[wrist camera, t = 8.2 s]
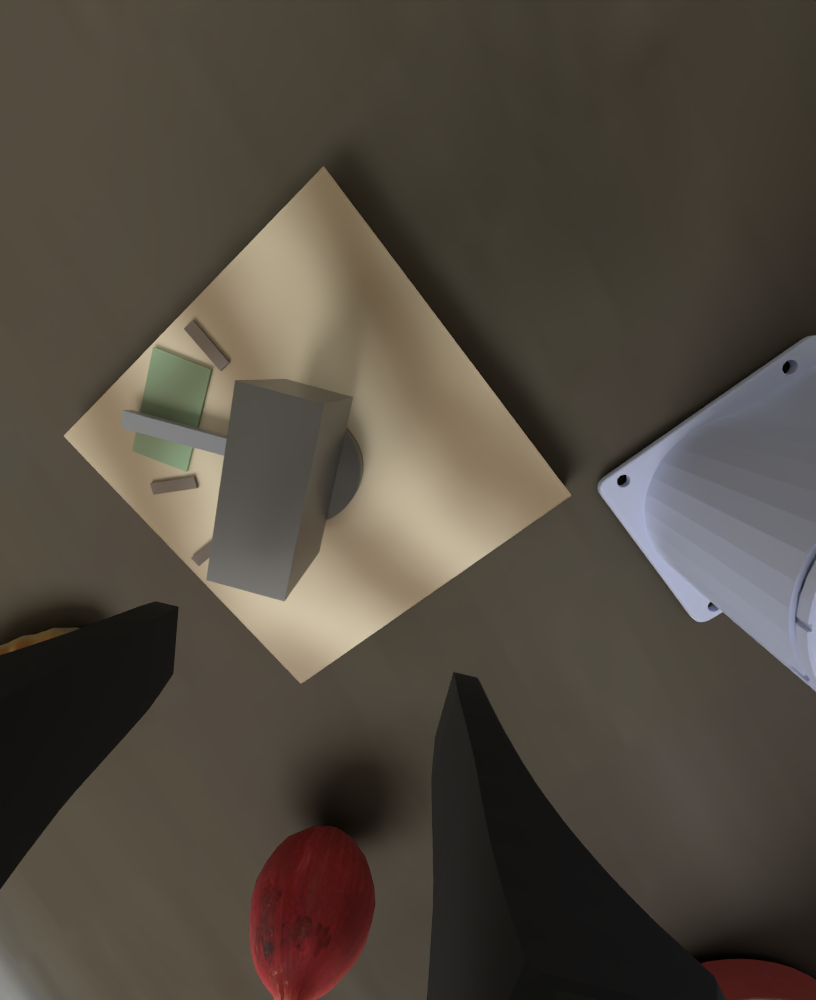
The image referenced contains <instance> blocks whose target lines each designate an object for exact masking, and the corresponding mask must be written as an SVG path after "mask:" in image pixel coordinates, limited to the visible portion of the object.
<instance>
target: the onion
mask: <svg viewBox="0 0 816 1000" xmlns="http://www.w3.org/2000/svg"><path fill="white" fill-rule="evenodd" d="M374 908H375V892H374V884H373V880H372V876H371V873H370V869H369V866H368V863H367V860H366V857H365V855H364V854H363V852H362V851H361V850H360V848H359V847H358V845H357V844H356V842H355V841H354V840H353V838H352V837H351V836H349V835H348V834H346V833H345V832H344V831H342V830H341V829H339V828H337V827H334V826H313V827H310V828H308V829H305V830H303V831H300V832H298V833H296V834H293V835H291V836H289V837H288V838H286V839H285V840H284V841H283V842H282V843H281V844H280V845H279V846H278V847H277V848H276V850H275V851H274V852H273V854H272V855H271V856H270V858H269V859H268V860H267V862H266V864H265V865H264V867H263V869H262V871H261V872H260V874H259V876H258V878H257V881H256V884H255V888H254V891H253V894H252V899H251V912H250V927H249V932H250V947H251V952H252V958H253V961H254V965H255V968H256V971H257V973H258V975H259V976H260V978H261V980H262V981H263V983H264V985H265V986H266V988H267V989H268V990H269V992H270V993H271V994H272V995H273V996H274V1000H315V999H317V998H319V997H321V996H323V995H325V994H326V993H327V992H328V991H330V990H331V989H332V988H333V987H334V986H335V985H336V984H337V983H338V982H339V981H340V980H341V979H342V978H343V977H344V976H345V975H346V974H347V973H348V971H349V970H350V969H351V968H352V967H353V965H354V964H355V962H356V961H357V960H358V958H359V957H360V954H361V952H362V950H363V948H364V945H365V943H366V940H367V937H368V933H369V930H370V926H371V923H372V918H373V913H374Z"/></svg>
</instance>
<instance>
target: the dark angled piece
mask: <svg viewBox="0 0 816 1000" xmlns="http://www.w3.org/2000/svg"><path fill="white" fill-rule="evenodd" d="M352 400H353V397H351V396H347V395H344V394H340V393H336V392H332V391H329V390H325V389H321V388H318V387H314V386H310V385H306V384H303V383H299V382H295V381H292V380H288V379H261V380H235V384H234V391H233V398H232V405H231V412H230V419H229V426H228V433H227V435H223V434H219V433H215V432H212V431H208V430H204V429H201V428H197V427H193V426H190V425H186V424H182V423H178V422H175V421H171V420H167V419H164V418H160V417H156V416H153V415H149V414H145V413H141V412H138V411H134V410H123V411H122V421H121V428H123V429H127V430H131V431H134V432H138V433H142V434H145V435H149V436H153V437H157V438H160V439H164V440H168V441H171V442H175V443H179V444H182V445H186V446H190V447H193V448H197V449H201V450H205V451H208V452H212V453H216V454H219V455H223V456H224V461H223V467H222V474H221V481H220V488H219V495H218V502H217V509H216V516H215V523H214V530H213V537H212V544H211V551H210V558H209V564H208V571H207V578H206V580H207V581H211V582H215V583H218V584H222V585H226V586H229V587H233V588H237V589H240V590H244V591H248V592H251V593H255V594H259V595H262V596H266V597H270V598H273V599H277V600H281V601H285V600H286V599H287V597H288V596H289V594H290V593H291V592H292V590H293V589H294V587H295V586H296V584H297V583H298V582H299V580H300V579H301V577H302V576H303V575H304V573H305V572H306V570H307V569H308V568H309V566H310V565H311V563H312V562H313V560H314V559H315V558H316V556H317V555H318V553H319V551H320V547H321V542H322V538H323V533H324V529H325V524H326V520H328V519H330V518H332V517H334V516H336V515H337V514H339V513H340V512H341V511H342V510H344V509H345V507H346V506H347V505H348V504H349V503H350V501H351V500H352V499H353V497H354V496H355V494H356V493H357V491H358V489H359V487H360V484H361V481H362V477H363V467H364V465H363V457H362V453H361V449H360V447H359V444H358V442H357V440H356V439H355V437H354V436H353V434H352V433H351V432H350V430H349V429H348V428H347V423H348V418H349V414H350V409H351V405H352Z"/></svg>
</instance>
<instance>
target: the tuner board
mask: <svg viewBox="0 0 816 1000" xmlns="http://www.w3.org/2000/svg"><path fill="white" fill-rule="evenodd" d="M261 379H288V380H292V381H295V382H299V383H303V384H306V385H310V386H314V387H318V388H321V389H325V390H329V391H332V392H336V393H340V394H344V395H347V396H351V397H353V400H352V405H351V409H350V414H349V418H348V423H347V428H348V429H349V430H350V432H351V433H352V434H353V436H354V437H355V439H356V440H357V442H358V444H359V447H360V449H361V453H362V457H363V465H364V467H363V477H362V481H361V484H360V487H359V489H358V491H357V493H356V494H355V496H354V497H353V499H352V500H351V501H350V503H349V504H348V505H347V506H346V507H345V509H344V510H342V511H341V512H340V513H339V514H337V515H336V516H334V517H332V518H330V519H328V520H326V524H325V529H324V533H323V538H322V542H321V547H320V551H319V553H318V555H317V556H316V558H315V559H314V560H313V562H312V563H311V565H310V566H309V568H308V569H307V570H306V572H305V573H304V575H303V576H302V577H301V579H300V580H299V582H298V583H297V584H296V586H295V587H294V589H293V590H292V592H291V593H290V594H289V596H288V597H287V599H286V600H285V601H281V600H277V599H273V598H270V597H266V596H262V595H259V594H255V593H251V592H248V591H244V590H240V589H237V588H233V587H229V586H226V585H222V584H218V583H215V582H211V581H207V580H206V578H207V571H208V564H209V558H210V551H211V544H212V537H213V530H214V523H215V516H216V509H217V502H218V495H219V488H220V481H221V474H222V467H223V461H224V456H223V455H219V454H216V453H212V452H208V451H205V450H201V449H197V448H193V447H190V446H186V445H182V444H179V443H175V442H171V441H168V440H164V439H160V438H157V437H153V436H149V435H145V434H142V433H138V432H134V431H131V430H127V429H123V428H121V421H122V411H123V410H134V411H138V412H141V413H145V414H149V415H153V416H156V417H160V418H164V419H167V420H171V421H175V422H178V423H182V424H186V425H190V426H193V427H197V428H201V429H204V430H208V431H212V432H215V433H219V434H223V435H227V433H228V426H229V419H230V412H231V405H232V398H233V391H234V384H235V380H261ZM64 437H65V438H66V439H67V440H68V441H69V442H70V443H71V444H72V445H73V446H74V447H75V448H76V449H77V450H78V452H79V453H80V454H81V455H82V456H83V457H84V458H85V459H86V460H87V461H88V462H89V463H90V464H91V465H92V466H93V467H94V468H95V469H96V470H97V471H98V472H99V473H100V475H101V476H102V477H103V478H104V479H105V480H106V481H107V482H108V483H109V484H110V485H111V486H112V487H113V488H114V489H115V490H116V491H117V492H118V493H119V494H120V495H121V496H122V497H123V499H124V500H125V501H126V502H127V503H128V504H129V505H130V506H131V507H132V508H133V509H134V510H135V511H136V512H137V513H138V514H139V515H140V516H141V517H142V518H143V519H144V520H145V522H146V523H147V524H148V525H149V526H150V527H151V528H152V529H153V530H154V531H155V532H156V533H157V534H158V535H159V536H160V537H161V538H162V539H163V540H164V541H165V542H166V543H167V545H168V546H169V547H170V548H171V549H172V550H173V551H174V552H175V553H176V554H177V555H178V556H179V557H180V558H181V559H182V560H183V561H184V562H185V563H186V564H187V565H188V566H189V567H190V569H191V570H192V571H193V572H194V573H195V574H196V575H197V576H198V577H199V578H200V579H201V580H202V581H203V582H204V583H205V584H206V585H207V586H208V587H209V588H210V589H211V590H212V592H213V593H214V594H215V595H216V596H217V597H218V598H219V599H220V600H221V601H222V602H223V603H224V604H225V605H226V606H227V607H228V608H229V609H230V610H231V611H232V612H233V613H234V614H235V616H236V617H237V618H238V619H239V620H240V621H241V622H242V623H243V624H244V625H245V626H246V627H247V628H248V629H249V630H250V631H251V632H252V633H253V634H254V635H255V636H256V637H257V639H258V640H259V641H260V642H261V643H262V644H263V645H264V646H265V647H266V648H267V649H268V650H269V651H270V652H271V653H272V654H273V655H274V656H275V657H276V658H277V659H278V660H279V662H280V663H281V664H282V665H283V666H284V667H285V668H286V669H287V670H288V671H289V672H290V673H291V674H292V675H293V676H294V677H295V678H296V679H297V680H298V681H299V682H300V683H303V682H304V681H306V680H307V679H309V678H310V677H312V676H313V675H314V674H316V673H317V672H319V671H320V670H322V669H323V668H324V667H326V666H327V665H329V664H330V663H332V662H333V661H334V660H336V659H337V658H339V657H340V656H342V655H343V654H345V653H346V652H347V651H349V650H350V649H352V648H353V647H355V646H356V645H357V644H359V643H360V642H362V641H363V640H365V639H366V638H367V637H369V636H370V635H372V634H373V633H375V632H376V631H378V630H379V629H380V628H382V627H383V626H385V625H386V624H388V623H389V622H390V621H392V620H393V619H395V618H396V617H398V616H399V615H400V614H402V613H403V612H405V611H406V610H408V609H409V608H411V607H412V606H413V605H415V604H416V603H418V602H419V601H421V600H422V599H423V598H425V597H426V596H428V595H429V594H431V593H432V592H433V591H435V590H436V589H438V588H439V587H441V586H442V585H444V584H445V583H446V582H448V581H449V580H451V579H452V578H454V577H455V576H456V575H458V574H459V573H461V572H462V571H464V570H465V569H466V568H468V567H469V566H471V565H472V564H474V563H475V562H477V561H478V560H479V559H481V558H482V557H484V556H485V555H487V554H488V553H489V552H491V551H492V550H494V549H495V548H497V547H498V546H499V545H501V544H502V543H504V542H505V541H507V540H508V539H510V538H511V537H512V536H514V535H515V534H517V533H518V532H520V531H521V530H522V529H524V528H525V527H527V526H528V525H530V524H531V523H532V522H534V521H535V520H537V519H538V518H540V517H541V516H543V515H544V514H545V513H547V512H548V511H550V510H551V509H553V508H554V507H555V506H557V505H558V504H560V503H561V502H563V501H564V500H565V499H567V498H568V497H570V496H571V494H570V493H569V492H568V490H567V489H566V488H565V486H564V485H563V484H562V482H561V481H560V480H559V478H558V477H557V476H556V474H555V473H554V472H553V470H552V469H551V468H550V466H549V465H548V464H547V462H546V461H545V460H544V458H543V457H542V456H541V454H540V453H539V452H538V450H537V449H536V448H535V446H534V445H533V444H532V442H531V441H530V440H529V438H528V437H527V436H526V434H525V433H524V432H523V431H522V429H521V428H520V427H519V425H518V424H517V423H516V421H515V420H514V419H513V417H512V416H511V415H510V413H509V412H508V411H507V409H506V408H505V407H504V405H503V404H502V403H501V401H500V400H499V399H498V397H497V396H496V395H495V393H494V392H493V391H492V389H491V388H490V387H489V385H488V384H487V383H486V381H485V380H484V379H483V377H482V376H481V375H480V373H479V372H478V371H477V369H476V368H475V367H474V365H473V364H472V363H471V361H470V360H469V359H468V357H467V356H466V355H465V353H464V352H463V351H462V349H461V348H460V347H459V345H458V344H457V343H456V341H455V340H454V339H453V337H452V336H451V335H450V333H449V332H448V331H447V329H446V328H445V327H444V325H443V324H442V323H441V321H440V320H439V319H438V318H437V316H436V315H435V314H434V312H433V311H432V310H431V308H430V307H429V306H428V304H427V303H426V302H425V300H424V299H423V298H422V296H421V295H420V294H419V292H418V291H417V290H416V288H415V287H414V286H413V284H412V283H411V282H410V280H409V279H408V278H407V276H406V275H405V274H404V272H403V271H402V270H401V268H400V267H399V266H398V264H397V263H396V262H395V260H394V259H393V258H392V256H391V255H390V254H389V252H388V251H387V250H386V248H385V247H384V246H383V244H382V243H381V242H380V240H379V239H378V238H377V236H376V235H375V234H374V232H373V231H372V230H371V228H370V227H369V226H368V224H367V223H366V222H365V220H364V219H363V218H362V216H361V215H360V214H359V212H358V211H357V210H356V209H355V207H354V206H353V205H352V203H351V202H350V201H349V199H348V198H347V197H346V195H345V194H344V193H343V191H342V190H341V189H340V187H339V186H338V185H337V183H336V182H335V181H334V179H333V178H332V177H331V175H330V174H329V173H328V171H327V170H326V169H325V167H324V166H323V167H322V168H321V169H320V170H319V171H318V172H317V173H316V174H315V176H314V177H313V178H312V179H311V180H310V181H309V182H308V183H307V184H306V185H305V186H304V187H303V188H302V189H301V190H300V191H299V192H298V193H297V194H296V195H295V196H294V197H293V198H292V199H291V200H290V202H289V203H288V204H287V205H286V206H285V207H284V208H283V209H282V210H281V211H280V212H279V213H278V214H277V215H276V216H275V217H274V218H273V219H272V220H271V221H270V222H269V223H268V224H267V225H266V226H265V227H264V229H263V230H262V231H261V232H260V233H259V234H258V235H257V236H256V237H255V238H254V239H253V240H252V241H251V242H250V243H249V244H248V245H247V246H246V247H245V248H244V249H243V250H242V251H241V252H240V253H239V254H238V256H237V257H236V258H235V259H234V260H233V261H232V262H231V263H230V264H229V265H228V266H227V267H226V268H225V269H224V270H223V271H222V272H221V273H220V274H219V275H218V276H217V277H216V278H215V279H214V280H213V281H212V283H211V284H210V285H209V286H208V287H207V288H206V289H205V290H204V291H203V292H202V293H201V294H200V295H199V296H198V297H197V298H196V299H195V300H194V301H193V302H192V303H191V304H190V305H189V306H188V307H187V309H186V310H185V311H184V312H183V313H182V314H181V315H180V316H179V317H178V318H177V319H176V320H175V321H174V322H173V323H172V324H171V325H170V326H169V327H168V328H167V329H166V330H165V331H164V332H163V333H162V334H161V336H160V337H159V338H158V339H157V340H156V341H155V342H154V343H153V344H152V345H151V346H150V347H149V348H148V349H147V350H146V351H145V352H144V353H143V354H142V355H141V356H140V357H139V358H138V359H137V360H136V361H135V363H134V364H133V365H132V366H131V367H130V368H129V369H128V370H127V371H126V372H125V373H124V374H123V375H122V376H121V377H120V378H119V379H118V380H117V381H116V382H115V383H114V384H113V385H112V386H111V387H110V389H109V390H108V391H107V392H106V393H105V394H104V395H103V396H102V397H101V398H100V399H99V400H98V401H97V402H96V403H95V404H94V405H93V406H92V407H91V408H90V409H89V410H88V411H87V412H86V413H85V414H84V416H83V417H82V418H81V419H80V420H79V421H78V422H77V423H76V424H75V425H74V426H73V427H72V428H71V429H70V430H69V431H68V432H67V433H66V434H65V435H64Z"/></svg>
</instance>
